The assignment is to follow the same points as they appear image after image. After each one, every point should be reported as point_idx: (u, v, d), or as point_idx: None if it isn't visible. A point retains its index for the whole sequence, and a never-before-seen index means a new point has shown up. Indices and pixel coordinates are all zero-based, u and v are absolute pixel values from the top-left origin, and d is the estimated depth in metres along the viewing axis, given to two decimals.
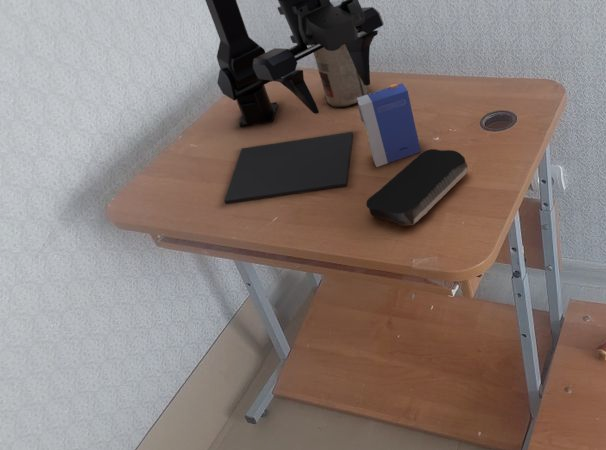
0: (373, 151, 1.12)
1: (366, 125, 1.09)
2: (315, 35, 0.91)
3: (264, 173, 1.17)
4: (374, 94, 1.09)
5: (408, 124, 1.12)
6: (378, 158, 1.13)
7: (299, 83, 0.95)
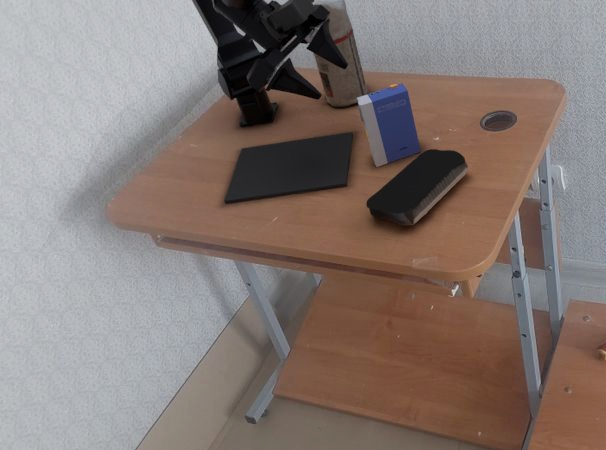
0: (373, 151, 1.12)
1: (366, 125, 1.09)
2: (283, 22, 1.02)
3: (264, 173, 1.17)
4: (374, 94, 1.09)
5: (408, 124, 1.12)
6: (378, 158, 1.13)
7: (293, 72, 1.04)
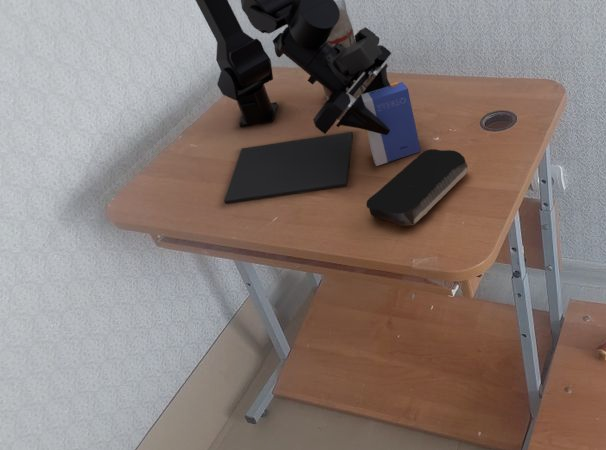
0: (373, 150, 1.12)
1: None
2: (350, 66, 1.04)
3: (264, 173, 1.17)
4: (375, 92, 1.09)
5: (408, 123, 1.12)
6: (378, 157, 1.13)
7: (363, 109, 1.06)
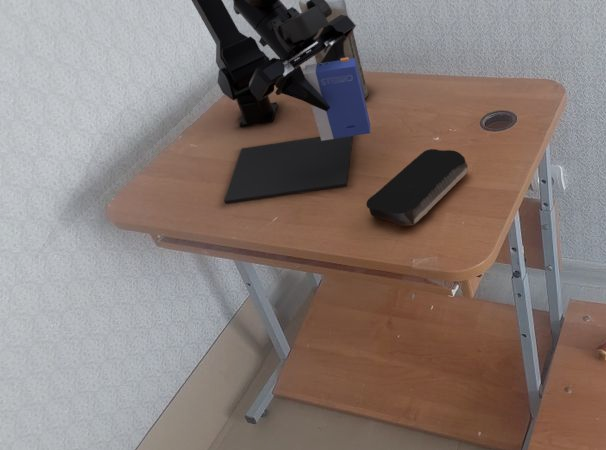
0: (317, 123, 1.08)
1: None
2: (291, 34, 0.99)
3: (264, 173, 1.17)
4: (323, 65, 1.04)
5: (356, 102, 1.06)
6: (323, 132, 1.09)
7: (302, 81, 1.01)
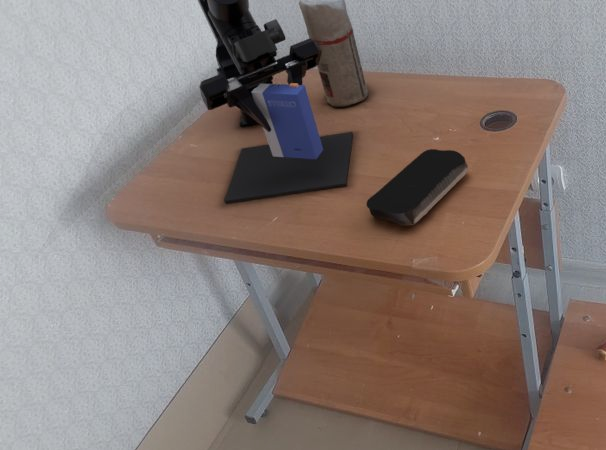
0: (268, 140, 1.10)
1: None
2: (240, 54, 1.01)
3: (264, 173, 1.17)
4: (273, 86, 1.05)
5: (300, 128, 1.06)
6: (274, 148, 1.11)
7: (246, 100, 1.04)
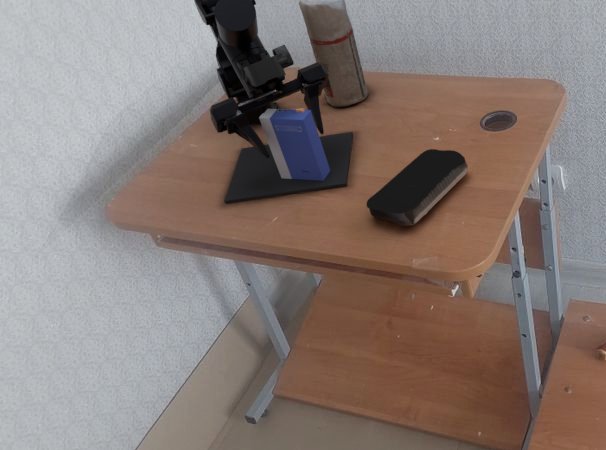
0: (276, 163, 1.13)
1: (267, 137, 1.10)
2: (249, 78, 1.03)
3: (264, 173, 1.17)
4: (280, 111, 1.08)
5: (307, 151, 1.09)
6: (282, 171, 1.14)
7: (245, 127, 1.06)
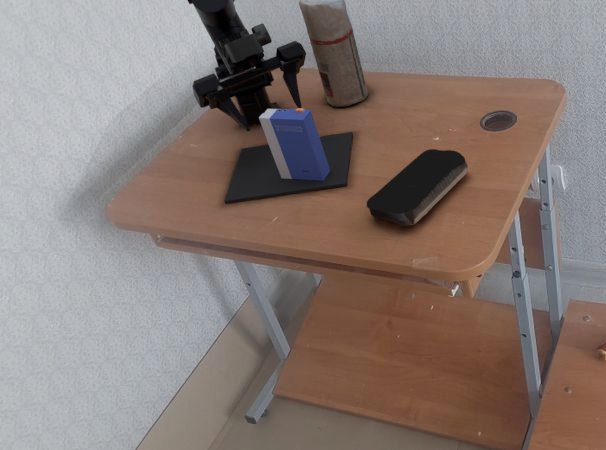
0: (276, 163, 1.13)
1: (267, 137, 1.10)
2: (229, 55, 1.09)
3: (264, 173, 1.17)
4: (280, 112, 1.08)
5: (307, 151, 1.09)
6: (282, 171, 1.14)
7: (226, 102, 1.12)
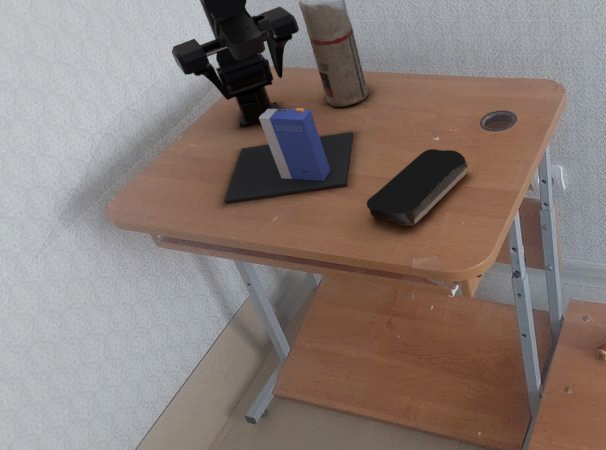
0: (276, 163, 1.13)
1: (267, 137, 1.10)
2: (226, 42, 1.02)
3: (264, 173, 1.17)
4: (280, 112, 1.08)
5: (307, 151, 1.09)
6: (282, 171, 1.14)
7: (211, 76, 1.07)
